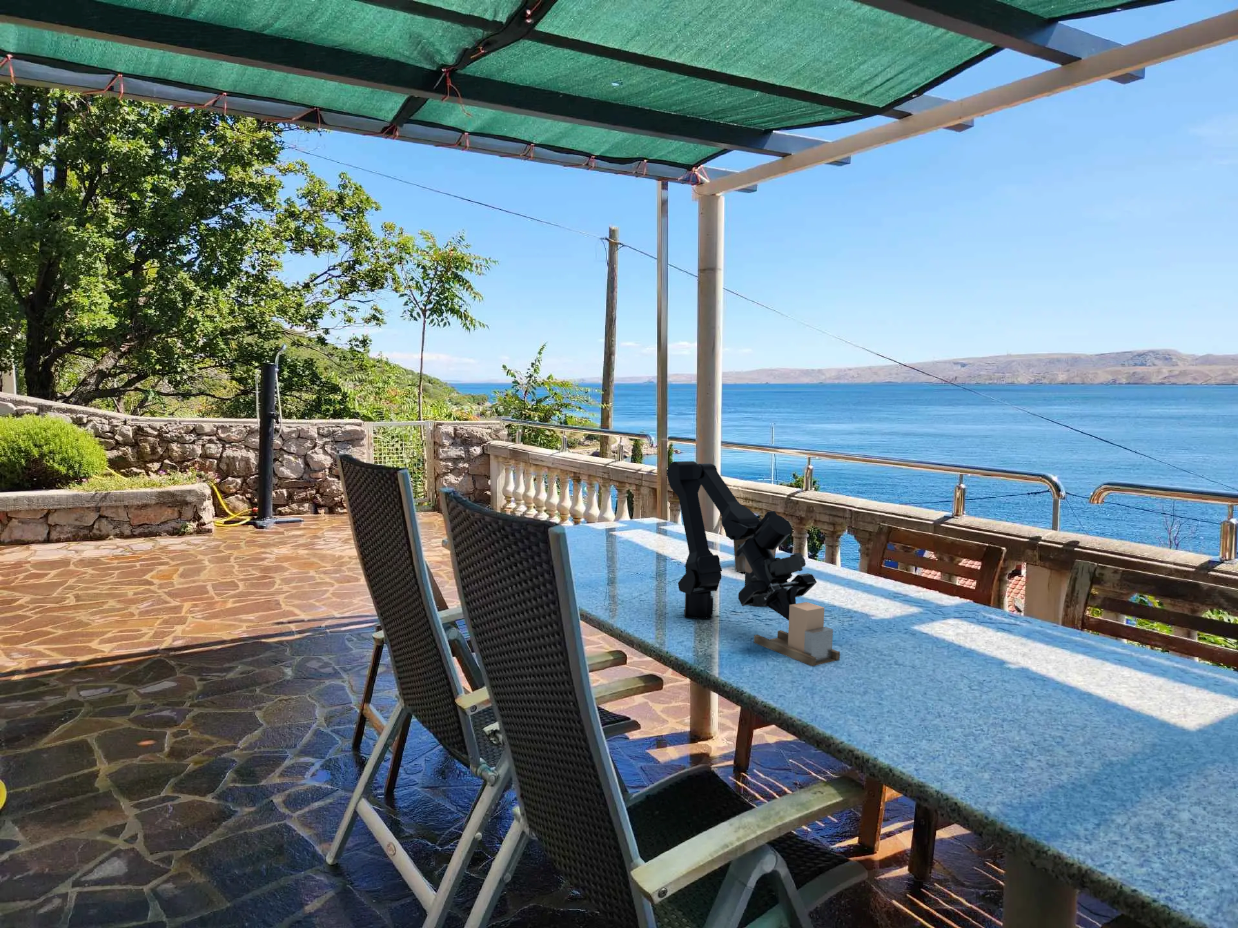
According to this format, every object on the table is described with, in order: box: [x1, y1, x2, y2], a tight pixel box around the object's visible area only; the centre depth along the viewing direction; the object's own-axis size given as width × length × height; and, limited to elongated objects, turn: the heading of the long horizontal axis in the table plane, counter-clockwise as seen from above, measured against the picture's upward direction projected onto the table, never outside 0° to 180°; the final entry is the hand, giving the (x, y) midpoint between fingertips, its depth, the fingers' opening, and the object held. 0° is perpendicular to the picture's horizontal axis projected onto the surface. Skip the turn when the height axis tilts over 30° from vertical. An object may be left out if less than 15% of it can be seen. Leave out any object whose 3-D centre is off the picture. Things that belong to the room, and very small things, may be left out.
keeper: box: [787, 601, 825, 653], centre depth 158 cm, size 5×5×10 cm
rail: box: [753, 629, 841, 667], centre depth 160 cm, size 17×8×2 cm, turn 32°
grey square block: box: [804, 626, 834, 662], centre depth 155 cm, size 2×6×7 cm, turn 122°
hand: (796, 622), depth 160 cm, fingers closed, pressing on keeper
